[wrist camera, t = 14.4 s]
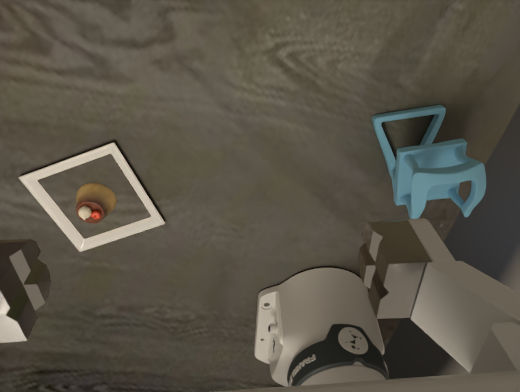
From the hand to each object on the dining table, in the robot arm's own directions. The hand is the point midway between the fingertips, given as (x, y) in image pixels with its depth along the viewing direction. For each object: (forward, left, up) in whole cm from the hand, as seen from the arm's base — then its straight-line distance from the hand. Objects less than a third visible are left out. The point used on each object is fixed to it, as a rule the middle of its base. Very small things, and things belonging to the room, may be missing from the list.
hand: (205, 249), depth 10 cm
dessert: (-24, +10, -34) cm, 43 cm away
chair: (-9, -23, -33) cm, 42 cm away
